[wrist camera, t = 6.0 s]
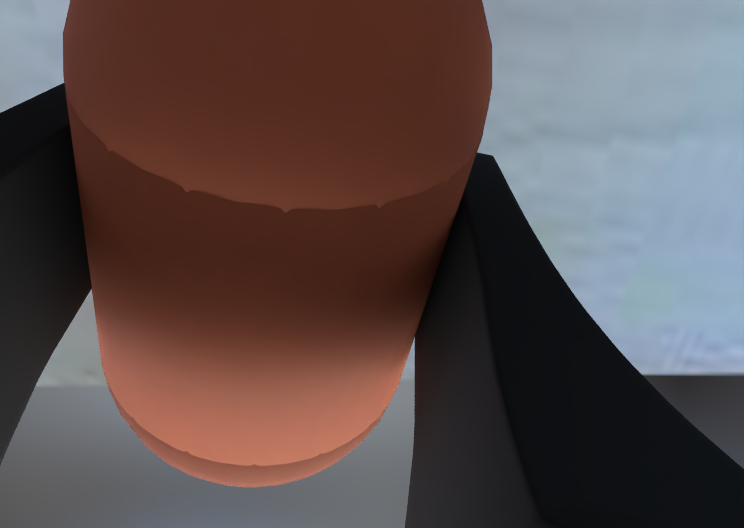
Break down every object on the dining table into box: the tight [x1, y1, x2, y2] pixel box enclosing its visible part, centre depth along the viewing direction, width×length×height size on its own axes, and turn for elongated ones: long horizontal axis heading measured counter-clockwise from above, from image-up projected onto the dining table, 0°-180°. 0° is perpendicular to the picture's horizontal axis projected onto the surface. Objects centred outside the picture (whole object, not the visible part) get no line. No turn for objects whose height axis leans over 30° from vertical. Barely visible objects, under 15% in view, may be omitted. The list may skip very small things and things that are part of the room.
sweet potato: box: [63, 0, 492, 487], centre depth 10 cm, size 9×5×5 cm, turn 170°
